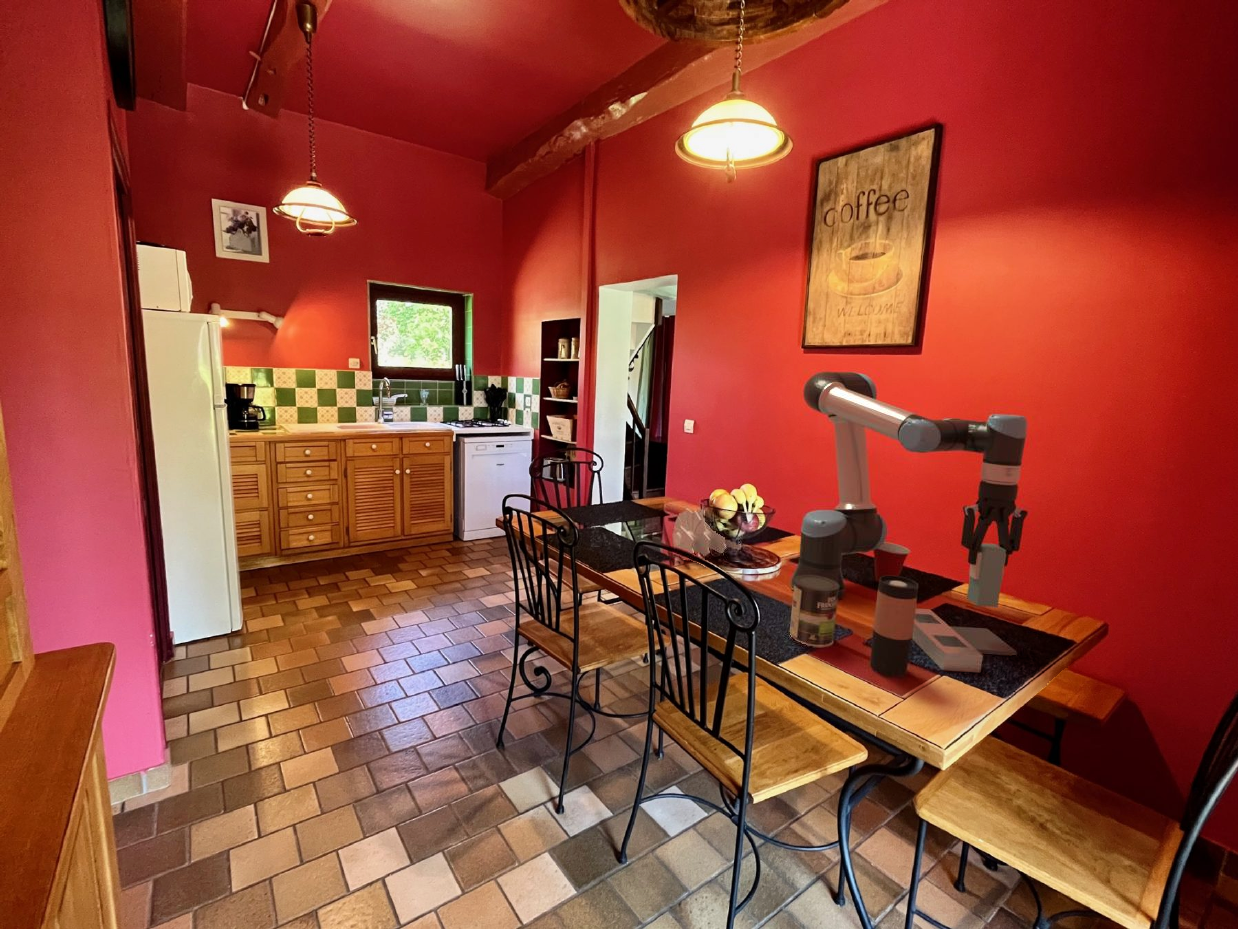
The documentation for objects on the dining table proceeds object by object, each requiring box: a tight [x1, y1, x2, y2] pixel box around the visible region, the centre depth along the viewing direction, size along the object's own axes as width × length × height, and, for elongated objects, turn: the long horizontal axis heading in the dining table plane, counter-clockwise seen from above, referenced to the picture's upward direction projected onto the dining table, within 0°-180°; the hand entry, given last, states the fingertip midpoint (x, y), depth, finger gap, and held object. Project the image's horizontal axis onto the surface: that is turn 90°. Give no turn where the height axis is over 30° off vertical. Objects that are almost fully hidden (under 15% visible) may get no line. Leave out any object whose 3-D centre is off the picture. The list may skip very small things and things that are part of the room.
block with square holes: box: [912, 608, 984, 673], centre depth 135 cm, size 8×24×4 cm, turn 177°
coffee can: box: [789, 575, 840, 649], centre depth 136 cm, size 10×10×14 cm
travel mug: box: [869, 575, 919, 678], centre depth 122 cm, size 8×8×20 cm
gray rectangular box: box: [966, 542, 1006, 608], centre depth 135 cm, size 5×5×14 cm
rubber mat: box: [950, 626, 1018, 656], centre depth 138 cm, size 12×12×1 cm
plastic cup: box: [873, 541, 911, 583], centre depth 175 cm, size 11×11×12 cm
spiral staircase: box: [671, 507, 742, 557], centre depth 192 cm, size 18×18×25 cm
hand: (985, 577), depth 135 cm, fingers closed on gray rectangular box, 5 cm apart
